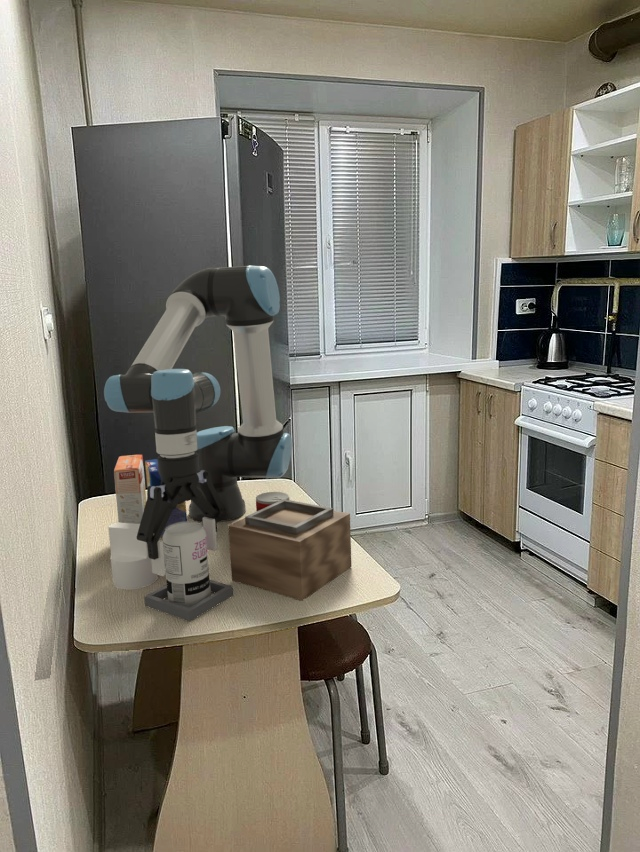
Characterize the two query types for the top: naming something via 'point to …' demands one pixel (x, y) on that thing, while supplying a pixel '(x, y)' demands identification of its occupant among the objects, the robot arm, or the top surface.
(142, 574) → the cylinder with rectangular tab
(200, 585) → the supplement can
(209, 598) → the base frame
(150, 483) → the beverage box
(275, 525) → the riser block
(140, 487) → the cracker box
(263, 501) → the canned food
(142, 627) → the top surface
